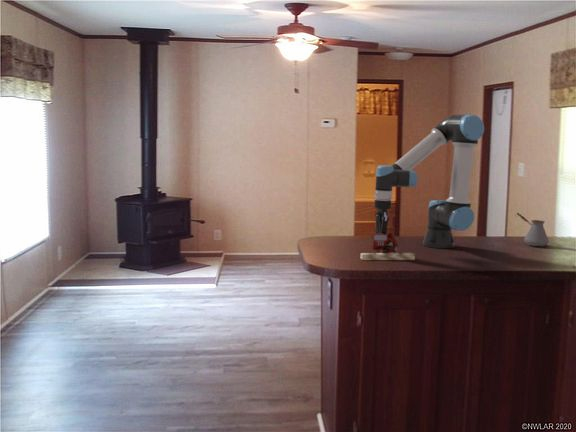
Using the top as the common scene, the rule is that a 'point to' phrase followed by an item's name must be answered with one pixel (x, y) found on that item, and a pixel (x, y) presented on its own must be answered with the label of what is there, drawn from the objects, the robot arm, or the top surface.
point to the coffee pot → (535, 233)
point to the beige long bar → (387, 256)
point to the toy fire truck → (384, 243)
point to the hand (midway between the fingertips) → (379, 250)
